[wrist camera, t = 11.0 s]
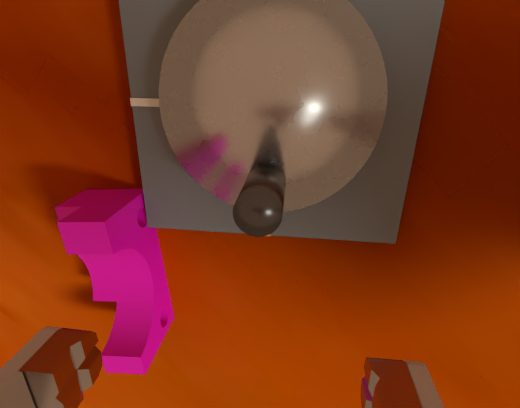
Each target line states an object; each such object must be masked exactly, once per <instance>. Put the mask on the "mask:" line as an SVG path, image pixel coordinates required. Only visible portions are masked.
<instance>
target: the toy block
mask: <svg viewBox="0 0 520 408" xmlns="http://www.w3.org/2000/svg"><path fill="white" fill-rule="evenodd" d="M54 208H55V211H56V214H57V217H58V220H59V221H58V222H57V225H58V228H59V231H60V234H61V237H62V240H63V243H64V246H65V249H66V252H67V254H76V255H78V256H79V257H80V258H81V259H82V260H83V262H84V263H85V265H86V267H87V269H88V271H89V273H90V277H91V281H92V287H93V301H110V302H117V307H116V314H115V320H114V324H113V328H112V331H111V334H110V337H109V339H108V342H107V344H106V346H105V348H104V350H103V352H102V362H103V365H104V368H105V371H106V372H109V373H128V374H146V372H147V370H148V368H149V366H150V364H151V362H152V360H153V358H154V356H155V354H156V352H157V350H158V348H159V346H160V344H161V342H162V340H163V338H164V336H165V334H166V332H167V330H168V328H169V326H170V324H171V323H172V321H173V319H174V314H173V309H172V304H171V299H170V294H169V289H168V284H167V279H166V274H165V269H164V264H163V260H162V255H161V250H160V245H159V240H158V235H157V230H156V228H153V227H148V225H147V218H146V210H145V202H144V194H143V188H137V189H95V190H84V191H82V192H80V193H79V194H77V195H75V196H73V197H71V198H70V199H68V200H66V201H64V202H62V203H61V204H59V205H57V206H55V207H54Z"/></svg>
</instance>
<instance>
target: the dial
mask: <svg viewBox="0 0 520 408" xmlns="http://www.w3.org/2000/svg"><path fill="white" fill-rule="evenodd" d="M387 98H388V90H387V76H386V69H385V63H384V60H383V57H382V53H381V50H380V47H379V45H378V43H377V40H376V38H375V36H374V34H373V32H372V30H371V29H370V27H369V26H368V24H367V23H366V21H365V19H364V18H363V17H362V15H361V14H360V13H359V12H358V11H357V10H356V9H355V7H354V6H353V5H352V4H351V3H350V2H348V1H347V0H200V1H199V2H197V3H196V4H195V5H194V6H193V8H192V9H191V10H190V11H189V12H188V13H187V14H186V15H185V17H184V18H183V19H182V21H181V22H180V24H179V25H178V27H177V28H176V30H175V32H174V34H173V36H172V38H171V40H170V42H169V44H168V47H167V49H166V52H165V55H164V58H163V62H162V67H161V71H160V79H159V107H160V114H161V120H162V123H163V127H164V131H165V134H166V136H167V139H168V141H169V144H170V146H171V148H172V150H173V152H174V153H175V155H176V157H177V159H178V160H179V162H180V163H181V165H182V166H183V167H184V169H185V170H186V171H187V172H188V173H189V175H190V176H191V177H192V178H193V179H194V180H195V181H196V182H197V183H198V184H200V185H201V186H202V187H203V188H204V189H205V190H207V191H208V192H210V193H211V194H213V195H214V196H216V197H217V198H219V199H221V200H223V201H225V202H227V203H229V204H232V205H234V207H233V219H234V222H235V223H236V225H237V226H238V228H239V229H240V230H241V231H243V232H244V233H246V234H248V235H251V236H255V237H262V236H267V235H269V234H271V233H273V232H274V231H276V230H277V228H278V227H279V226H280V224H281V221H282V216H283V212H286V211H293V210H298V209H302V208H305V207H308V206H311V205H313V204H316V203H318V202H320V201H322V200H324V199H326V198H328V197H330V196H331V195H333V194H334V193H336V192H337V191H339V190H340V189H341V188H343V187H344V186H345V185H346V184H347V183H348V182H349V181H351V180H352V179H353V177H354V176H355V175H356V174H357V173H358V172H359V171H360V170H361V168H362V167H363V166H364V164H365V163H366V161H367V160H368V158H369V157H370V155H371V153H372V151H373V149H374V147H375V146H376V144H377V141H378V139H379V136H380V133H381V131H382V128H383V123H384V119H385V115H386V108H387Z"/></svg>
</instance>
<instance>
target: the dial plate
mask: <svg viewBox="0 0 520 408" xmlns="http://www.w3.org/2000/svg"><path fill="white" fill-rule="evenodd" d="M118 1H119V9H120V17H121V25H122V32H123V40H124V48H125V56H126V63H127V71H128V79H129V86H130V94H131V98H130V104H131V106H132V110H133V117H134V125H135V133H136V140H137V148H138V156H139V164H140V171H141V179H142V187H143V194H144V202H145V210H146V218H147V225H148V227H153V228H168V229H183V230H197V231H212V232H227V233H242V234H246V233H244V232H243V231H241V230H240V229H239V228H238V226H237V225H236V223H235V222H234V219H233V207H234V205H232V204H229V203H227V202H225V201H223V200H221V199H219V198H217V197H216V196H214V195H213V194H211V193H210V192H208V191H207V190H205V189H204V188H203V187H202V186H201V185H200V184H198V183H197V182H196V181H195V180H194V179H193V178H192V177H191V176H190V175H189V173H188V172H187V171H186V170H185V169H184V167H183V166H182V165H181V163H180V162H179V160H178V159H177V157H176V155H175V153H174V152H173V150H172V148H171V146H170V144H169V141H168V139H167V136H166V134H165V131H164V127H163V123H162V120H161V114H160V107H159V79H160V71H161V67H162V62H163V58H164V55H165V52H166V49H167V47H168V44H169V42H170V40H171V38H172V36H173V34H174V32H175V30H176V28H177V27H178V25H179V24H180V22H181V21H182V19H183V18H184V17H185V15H186V14H187V13H188V12H189V11H190V10H191V9H192V8H193V6H194V5H195V4H196V3H197V2H199V1H200V0H118ZM347 1H348V2H350V3H351V4H352V5H353V6H354V7H355V9H356V10H357V11H358V12H359V13H360V14H361V15H362V17H363V18H364V19H365V21H366V23H367V24H368V26H369V27H370V29H371V30H372V32H373V34H374V36H375V38H376V40H377V43H378V45H379V47H380V50H381V53H382V57H383V60H384V63H385V69H386V76H387V90H388V98H387V108H386V115H385V119H384V123H383V128H382V131H381V133H380V136H379V139H378V141H377V144H376V146H375V147H374V149H373V151H372V153H371V155H370V157H369V158H368V160H367V161H366V163H365V164H364V166H363V167H362V168H361V170H360V171H359V172H358V173H357V174H356V175H355V176H354V177H353V179H352V180H351V181H349V182H348V183H347V184H346V185H345V186H344V187H343V188H341V189H340V190H339V191H337V192H336V193H334V194H333V195H331V196H330V197H328V198H326V199H324V200H322V201H320V202H318V203H316V204H313V205H311V206H308V207H305V208H302V209H298V210H293V211H286V212H283V216H282V221H281V224H280V226H279V227H278V228H277V230H276V231H274V232H273V233H271V234H269V235H267V236H270V235H272V236H287V237H302V238H317V239H332V240H347V241H362V242H377V243H391V244H396V239H397V234H398V229H399V224H400V220H401V215H402V210H403V205H404V200H405V195H406V190H407V185H408V180H409V175H410V170H411V165H412V160H413V156H414V151H415V146H416V141H417V136H418V131H419V126H420V121H421V116H422V111H423V106H424V101H425V96H426V92H427V87H428V82H429V77H430V72H431V67H432V62H433V57H434V52H435V47H436V42H437V37H438V33H439V28H440V23H441V18H442V13H443V8H444V3H445V0H347Z"/></svg>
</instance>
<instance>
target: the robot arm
mask: <svg viewBox="0 0 520 408" xmlns="http://www.w3.org/2000/svg"><path fill="white" fill-rule="evenodd" d="M97 342H98V338H97V335H96V333H95V332H92V331H85V330H77V329H69V328H59V327H50V326H47V327H45V328H43V329H41V330H40V331H39V332H38V333H37V334H36V335H35V336H34V337H33V338H32V339H31V340H30V341H29V342H28V343H27V344H26V345H25V346H24V347H23V348H22V349H21V350H20V351H19V352H17V353H16V354H15V355H14V356H13V357H12V358H11V359H10V360H9V361H8V362H7V363H6V364H5V365H4V366H3V367H2V368H1V369H0V408H78V406H79V405H80V403H81V402H82V400H83V391H84V390H86V389H87V388H89V387H90V386H92V385H93V384H94V382H95V381H96V379H97V378H98V376H99V373H100V370H101V367H102V354H101V351H100V350H99V349H98V348H97V347H96V346H95V345H96V344H97ZM364 370H365V375H366V376H365V377H364V378H362V383H361V405H362V408H444V406H443V403H442V401H441V399H440V396H439V394H438V392H437V389H436V387H435V385H434V382H433V380H432V378H431V376H430V373H429V371H428V369H427V366H426V365H425V364H424V363H423V362H415V361H402V360H393V359H381V358H369V357H367V358H366V360H365V364H364Z"/></svg>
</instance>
